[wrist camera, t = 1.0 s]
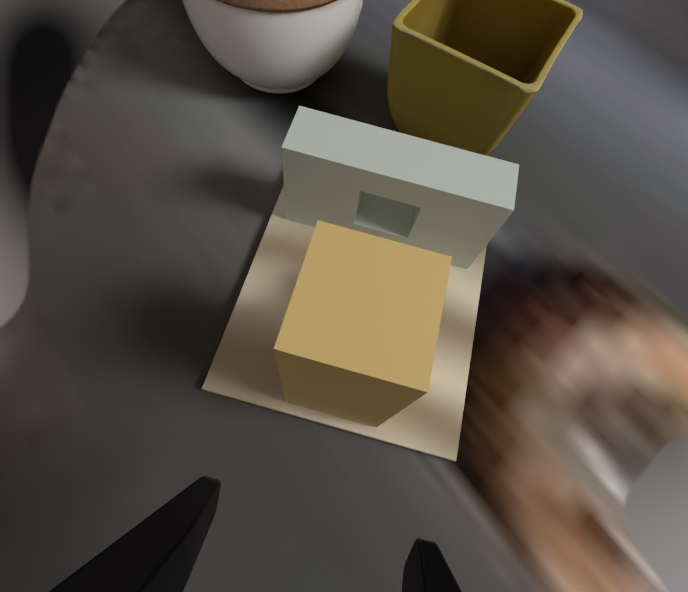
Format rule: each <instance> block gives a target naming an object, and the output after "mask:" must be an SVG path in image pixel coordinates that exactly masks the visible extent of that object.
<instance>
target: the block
mask: <svg viewBox="0 0 688 592" xmlns="http://www.w3.org/2000/svg"><path fill="white" fill-rule="evenodd" d="M451 260H452V257H451V256H447V255H443V254H440V253H436V252H432V251H429V250H425V249H421V248H418V247H414V246H411V245H407V244H403V243H400V242H396V241H392V240H389V239H385V238H381V237H378V236H374V235H370V234H367V233H363V232H359V231H356V230H352V229H349V228H345V227H341V226H338V225H334V224H330V223H327V222H323V221H319V220H318V221H317V224H316V227H315V230H314V233H313V236H312V239H311V241H310V244H309V247H308V250H307V253H306V256H305V259H304V262H303V265H302V268H301V271H300V273H299V276H298V279H297V282H296V285H295V288H294V291H293V294H292V297H291V300H290V302H289V305H288V308H287V311H286V314H285V317H284V320H283V323H282V326H281V329H280V332H279V334H278V337H277V340H276V343H275V346H274V353H275V358H276V362H277V366H278V371H279V375H280V380H281V384H282V388H283V393H284V397H285V402H289V403H292V404H296V405H299V406H303V407H306V408H310V409H313V410H317V411H320V412H324V413H327V414H331V415H334V416H338V417H341V418H345V419H349V420H352V421H356V422H359V423H363V424H366V425H370V426H373V427H378V426H379V425H381V424H382V423H384V422H385V421H387V420H388V419H390V418H391V417H393V416H394V415H396V414H397V413H398V412H400V411H401V410H403V409H404V408H406V407H407V406H409V405H410V404H412V403H413V402H414V401H416V400H417V399H419V398H420V397H422V396H423V395H425V394H426V393H428V389H429V383H430V377H431V372H432V366H433V361H434V355H435V349H436V344H437V338H438V333H439V327H440V321H441V316H442V310H443V305H444V299H445V294H446V288H447V282H448V277H449V271H450V266H451Z"/></svg>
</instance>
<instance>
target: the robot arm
mask: <svg viewBox="0 0 688 592" xmlns="http://www.w3.org/2000/svg"><path fill="white" fill-rule="evenodd" d="M220 487H221V482H220V481H219V480H217V479H214V478H210V477H207V476H203V477H201V478H199V479H198V480H196V481H195V482H194V483H192V484H191V485H190V486H189V487H187V488H186V489H185V490H183V491H182V492H181V493H179V494H178V495H177V496H175V497H174V498H173V499H171V500H170V501H169V502H167V503H166V504H165V505H163V506H162V507H161V508H159V509H158V510H157V511H155V512H154V513H153V514H151V515H150V516H149V517H147V518H146V519H145V520H143V521H142V522H141V523H139V524H138V525H137V526H135V527H134V528H133V529H131V530H130V531H129V532H127V533H126V534H125V535H123V536H122V537H121V538H119V539H118V540H117V541H116V542H114V543H113V544H112V545H110V546H109V547H108V548H106V549H105V550H104V551H102V552H101V553H100V554H98V555H97V556H96V557H94V558H93V559H92V560H90V561H89V562H88V563H86V564H85V565H84V566H82V567H81V568H80V569H78V570H77V571H76V572H74V573H73V574H72V575H70V576H69V577H68V578H66V579H65V580H64V581H62V582H61V583H60V584H58V585H57V586H56V587H54V588H53V589H52V590H50V591H49V592H183V590H184V588H185V585H186V583H187V581H188V579H189V576H190V574H191V571H192V569H193V566H194V564H195V562H196V559H197V557H198V554H199V552H200V549H201V547H202V545H203V542H204V540H205V537H206V535H207V532H208V530H209V528H210V525H211V523H212V520H213V518H214V515H215V512H216V508H217V503H218V498H219V492H220ZM402 592H462V591H461V590H460V588H459V586H458V584H457V582H456V580H455V578H454V576H453V574H452V572H451V570H450V568H449V566H448V564H447V562H446V561H445V559H444V557H443V555H442V553H441V551H440V549H439V547H438V545H437V544H436V543H435V542H433V541H430V540H426V539H423V538H417V539H416V540H415V542H414V544H413V547H412V549H411V551H410V554H409V556H408V558H407V560H406V563H405V567H404V572H403V584H402Z"/></svg>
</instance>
